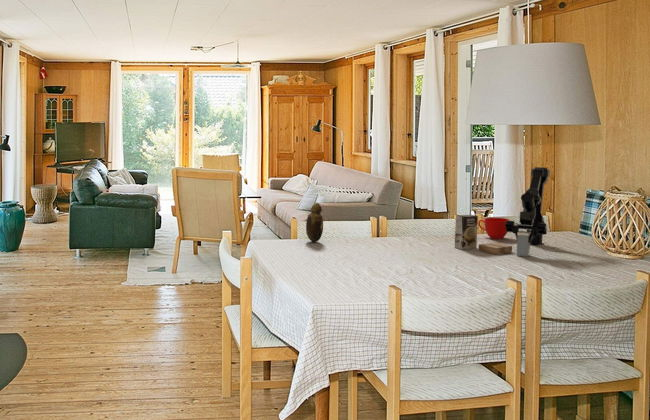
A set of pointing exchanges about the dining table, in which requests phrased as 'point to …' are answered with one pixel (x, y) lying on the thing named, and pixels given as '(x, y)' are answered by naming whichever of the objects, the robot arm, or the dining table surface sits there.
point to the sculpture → (315, 223)
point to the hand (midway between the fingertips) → (523, 241)
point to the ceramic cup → (495, 227)
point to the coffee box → (466, 231)
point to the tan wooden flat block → (495, 248)
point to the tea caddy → (523, 243)
